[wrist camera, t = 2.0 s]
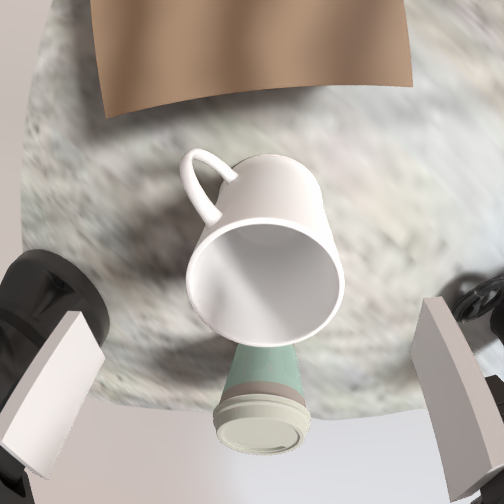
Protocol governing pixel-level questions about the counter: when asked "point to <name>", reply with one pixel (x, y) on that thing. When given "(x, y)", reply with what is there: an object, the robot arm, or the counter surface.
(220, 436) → the coffee cup
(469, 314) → the milk frother
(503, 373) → the counter surface
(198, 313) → the mug
